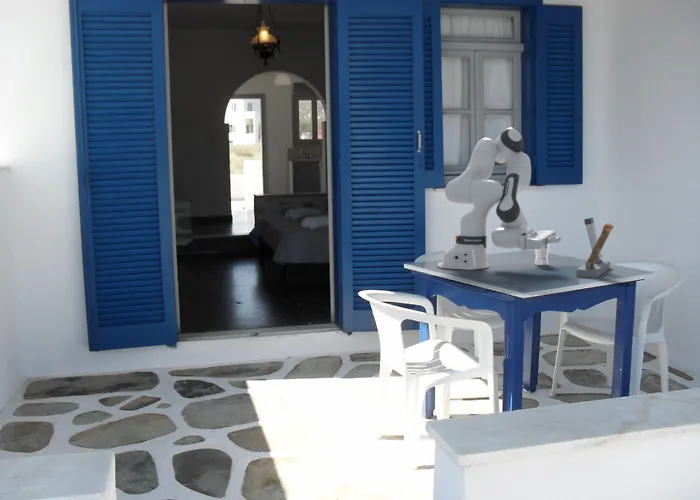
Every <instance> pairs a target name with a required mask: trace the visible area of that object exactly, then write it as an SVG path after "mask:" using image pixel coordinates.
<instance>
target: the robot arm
mask: <svg viewBox="0 0 700 500" xmlns="http://www.w3.org/2000/svg"><path fill="white" fill-rule="evenodd" d="M524 150H525V143H524V137H523V134H522V132H521V131H520V130H518V129H517V128H515V127H508V128H506V129H504V130H503V131H502V132H501V133H500V134H499V135H498V136H497V137H496V138H495V140H493V139H491V138H488V137H484V138H481V139H480V140H478V141H477V142H476V144H475V146H474V148H473V151H472V152H471V156H470V159H469V162H468V165H467V167H466V169H465V170H464V171H463V172H462V173H461V174H460V175H459V176H457V177H455V178H454V179H452V180H449V181H448V183H447V184H446V187H445V188H444V189H445V190H444V195H445V197H446V199H447V200H448V202H449V203H454V204H459V205H473V208H472V209H471V211H468V212H466V213H465V214H463V216H462V217H461V218H460V234H456V235H455V244H453V245H452V246H451V247H449V248H448V249H447V250H446V251H445V252H444V253H443V257H442V261H441V262H438V263H437V267H438V268H440V269H451V270H452V269H453V270H455V269H456V270H470V271H471V270H480V269H487V268H489V263H488V262H489V261H488V257H487V247H488V245H487V244H488V239H487V237H488V236H487V235H486V234H487V233H486V231H487V221H488V217H489V214H490V212H491V210H492V209H493V208H494V206H495V205H497V206H496V208H495V214H496V216H497V217H498V218H499V219H500V220H501V223H500V225H498V227H496V228H494V229H492V232H491V241H492V243H493V245H494V246H495V247H497V248H501V249H511V250H513V249H519V250H520V251H521V252H522V251H523V252H524V251H525V252H526V251H527V250H528V251H529V250H535V249H541V248H543V247H544V246H546V245H547V244H549V243H550V244H553V243H554V244H555V243H557V244H558V243H560V242H561V241H562V238H561V237H560V236H557V231H556V230H547V229H546V230H537V231H538V232H535V230H534V228H527V227H528V221H527V218H526V216H525V214H524V212H523V211H522V209H521V207H520V204H519V202H518V201H517V200H518V199H517V198H518V197H517V196H518V193H519V192H525V190H527V189H528V188H529V186H530V183H531V179H532V165H531V158H530V156H528V154H526V153H524V152H523V151H524ZM505 164H506V167H507V168H506V173H505V174H506V176H505V179H504V183H503V186H502V184H501V183H500V181H496V180H493V179H490V177H491V176H492V174H493V170H494V169H495V168H494V167H495V166H496V167H501V166H504V165H505Z"/></svg>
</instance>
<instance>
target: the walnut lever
mask: <svg viewBox="0 0 700 500" xmlns="http://www.w3.org/2000/svg"><path fill="white" fill-rule="evenodd" d="M614 227H615V225H613V224H611V223H609V222H607V223H604V226H603V227H602V231H601V233H600V235H599V237H598V238H597V239H598V241H597V243H596V245H595V247H594V249H593V251H592V250H591V253H590V255H589V257H588V258H587V261H586V262H591V267H592V266H593V265H594V264H595V262H596V260H597V258H598V256H599V254H600V252H601V251H602V250H603V247H604V245H605V243H606V242H607V239H608V238H609V236H610V233H611V232H612V231H613V229H614Z"/></svg>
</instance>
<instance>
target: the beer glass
mask: <svg viewBox="0 0 700 500" xmlns="http://www.w3.org/2000/svg"><path fill="white" fill-rule="evenodd" d="M538 231H539V230H534V232H538ZM550 245H551V243H549V244H547V245H546V246H544V247H543V248H541V249H534V252H535V259H534V260H535V261H534V265H535V266H549V260H548V259H549V257H548V256H549V251H550V248H551V246H550Z"/></svg>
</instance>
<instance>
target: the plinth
mask: <svg viewBox="0 0 700 500" xmlns="http://www.w3.org/2000/svg"><path fill="white" fill-rule="evenodd" d="M601 256H602V257H603V255H602V254H601ZM610 268H611V261H609V260H608V261H607V260H603V259H602V260H601V261H600V262H599V257H598V258H597V260H596V262H595V264H594V265H593V266H592V267H591V262H587V261H585V264H583V265H581V266H579V268H577V269H576V277H577V278H590V279H591V278H592V279H597V278H599V277H601V276H602V275H603V274H604V273H606V272H607V271H608V270H609V269H610Z"/></svg>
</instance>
